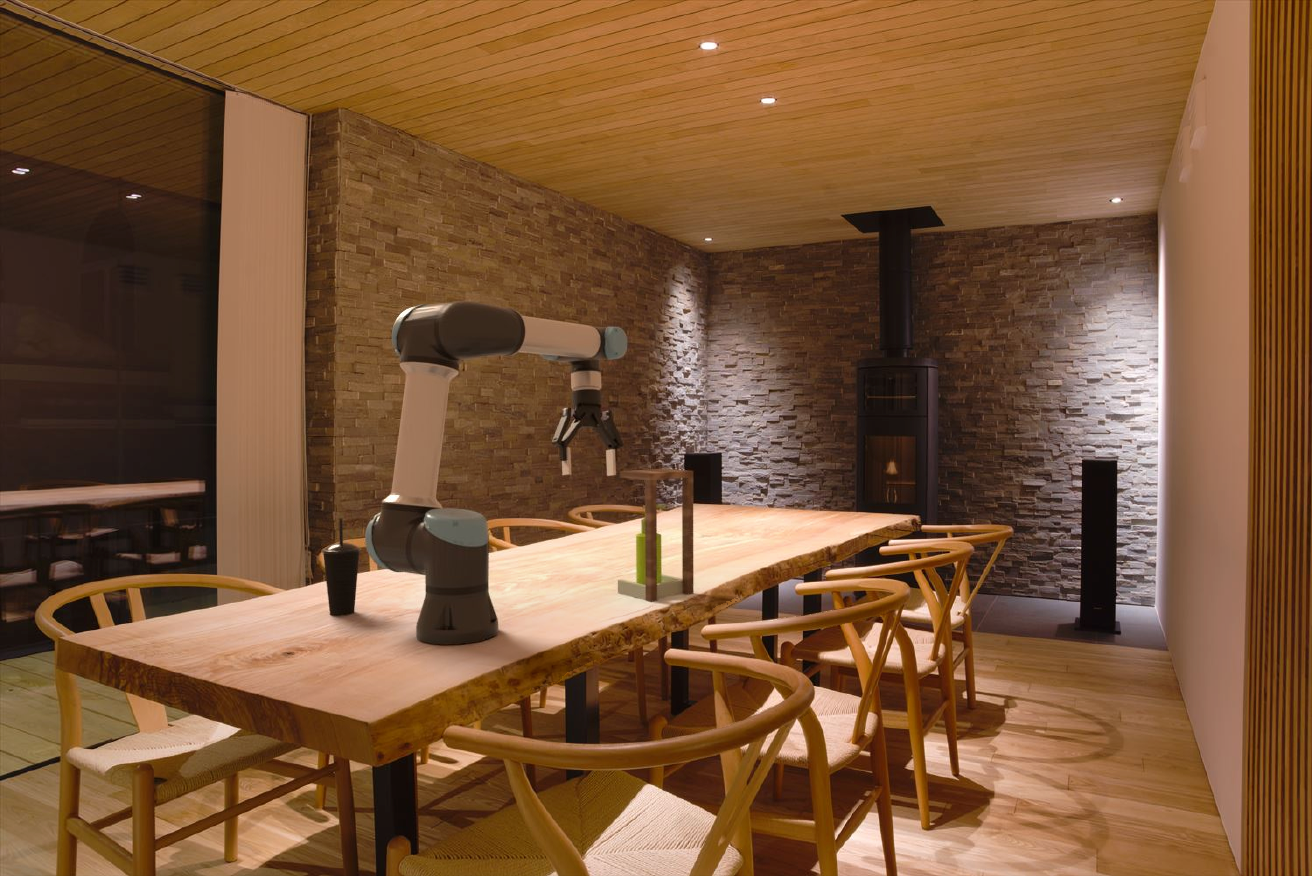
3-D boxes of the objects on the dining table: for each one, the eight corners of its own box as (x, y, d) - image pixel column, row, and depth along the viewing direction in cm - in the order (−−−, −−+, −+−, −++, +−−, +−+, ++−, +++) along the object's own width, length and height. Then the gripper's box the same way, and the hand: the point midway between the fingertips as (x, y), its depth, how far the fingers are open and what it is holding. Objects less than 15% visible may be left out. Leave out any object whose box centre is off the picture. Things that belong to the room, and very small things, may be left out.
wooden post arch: (650, 601, 187) (650, 473, 187) (620, 594, 195) (620, 471, 195) (693, 593, 196) (693, 470, 195) (662, 586, 204) (662, 468, 203)
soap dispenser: (666, 593, 194) (665, 506, 194) (636, 593, 194) (635, 506, 194) (666, 587, 200) (665, 503, 200) (636, 587, 200) (636, 503, 200)
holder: (646, 600, 189) (646, 586, 189) (617, 593, 197) (617, 580, 197) (687, 592, 197) (687, 579, 197) (658, 585, 205) (658, 573, 205)
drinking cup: (348, 618, 173) (347, 521, 172) (315, 616, 175) (313, 520, 174) (368, 609, 181) (367, 516, 180) (336, 608, 182) (334, 515, 182)
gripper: (616, 396, 223) (620, 476, 220) (535, 389, 206) (538, 475, 204) (634, 391, 217) (638, 474, 214) (552, 384, 201) (555, 473, 198)
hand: (589, 475), depth 209 cm, fingers open, 13 cm apart
